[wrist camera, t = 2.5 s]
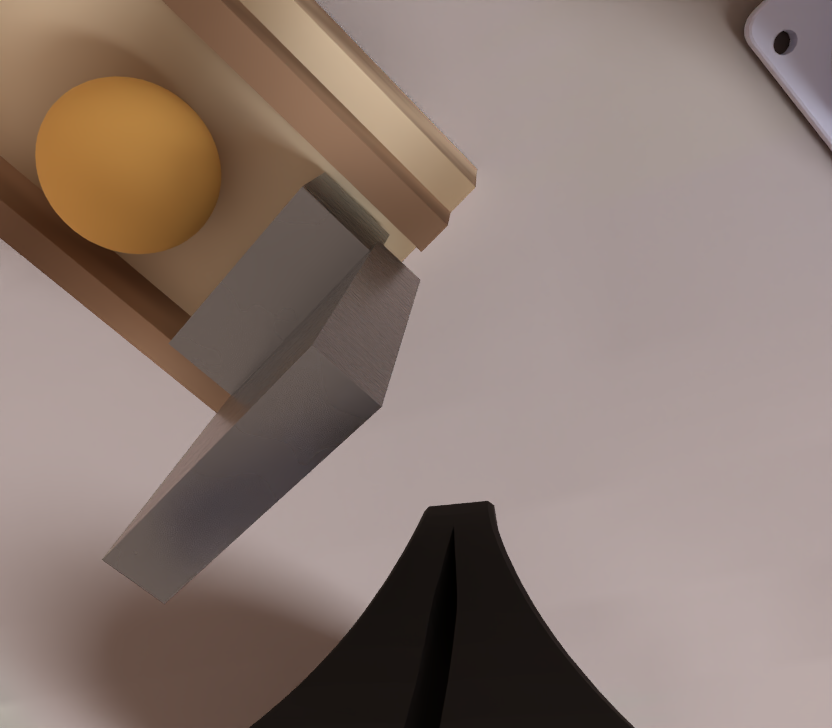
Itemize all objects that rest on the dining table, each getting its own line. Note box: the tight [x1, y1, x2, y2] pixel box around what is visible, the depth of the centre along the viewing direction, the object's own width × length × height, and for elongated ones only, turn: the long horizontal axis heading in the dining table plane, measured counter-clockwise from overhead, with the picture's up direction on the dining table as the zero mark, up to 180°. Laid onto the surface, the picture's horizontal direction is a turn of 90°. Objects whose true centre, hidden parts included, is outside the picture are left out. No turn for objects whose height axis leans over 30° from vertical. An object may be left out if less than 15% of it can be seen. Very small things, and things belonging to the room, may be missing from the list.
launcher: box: [0, 0, 477, 413], centre depth 15 cm, size 12×9×4 cm
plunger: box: [102, 172, 420, 604], centre depth 12 cm, size 3×5×7 cm, turn 136°
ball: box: [35, 76, 221, 254], centre depth 13 cm, size 4×4×4 cm
